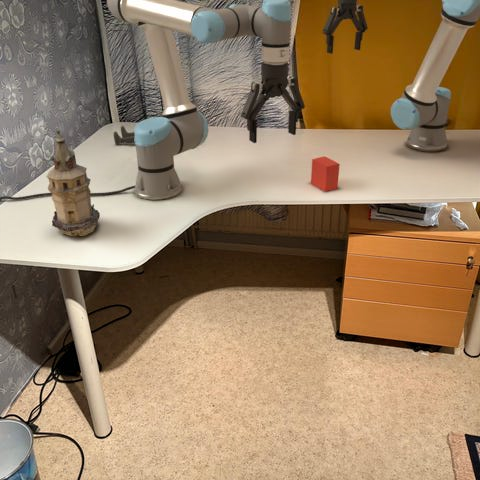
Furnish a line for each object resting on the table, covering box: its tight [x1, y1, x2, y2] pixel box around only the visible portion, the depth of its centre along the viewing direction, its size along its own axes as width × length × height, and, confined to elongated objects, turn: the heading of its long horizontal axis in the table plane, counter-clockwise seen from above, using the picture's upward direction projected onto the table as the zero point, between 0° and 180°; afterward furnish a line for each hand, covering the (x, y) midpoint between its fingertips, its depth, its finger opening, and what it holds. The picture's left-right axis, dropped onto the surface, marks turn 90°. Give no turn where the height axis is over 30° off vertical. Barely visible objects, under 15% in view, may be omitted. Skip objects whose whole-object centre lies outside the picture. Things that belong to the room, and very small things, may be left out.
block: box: [310, 155, 341, 192], centre depth 178 cm, size 5×8×9 cm, turn 29°
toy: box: [113, 125, 135, 146], centre depth 218 cm, size 26×6×30 cm
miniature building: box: [46, 129, 101, 237], centre depth 148 cm, size 13×14×30 cm
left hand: (272, 137), depth 155 cm, fingers open, 13 cm apart
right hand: (343, 51), depth 212 cm, fingers open, 13 cm apart
